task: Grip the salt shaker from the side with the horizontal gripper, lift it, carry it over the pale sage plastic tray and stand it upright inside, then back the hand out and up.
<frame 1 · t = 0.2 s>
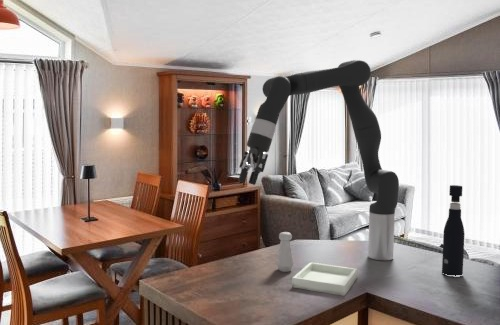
hand: (246, 182, 146), 31 cm above the counter, tool tilted 20°, fingers open, 8 cm apart
salt shaker: (284, 270, 155), on the counter
tray: (325, 282, 143), on the counter
black bottle: (452, 275, 152), on the counter
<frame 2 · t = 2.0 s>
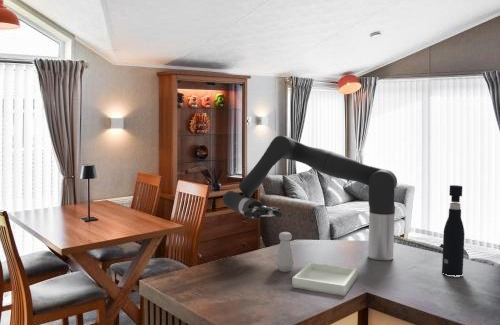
hand: (270, 215, 164), 17 cm above the counter, tool horizontal, fingers open, 8 cm apart
nothing on the counter moved.
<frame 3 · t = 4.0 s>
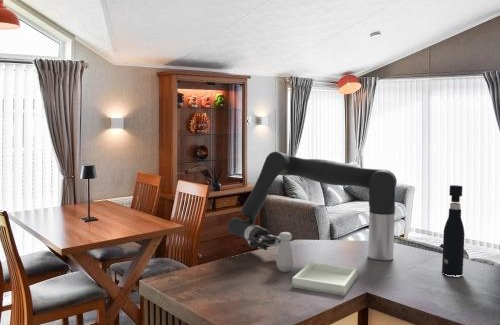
hand: (277, 246, 160), 7 cm above the counter, tool horizontal, fingers open, 8 cm apart
nothing on the counter moved.
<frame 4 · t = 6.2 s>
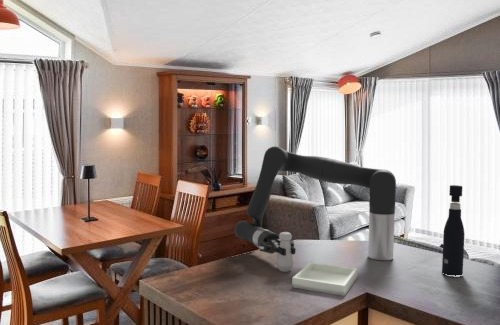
hand: (289, 251, 152), 7 cm above the counter, tool horizontal, fingers closed on salt shaker, 3 cm apart
salt shaker: (284, 270, 155), on the counter, touching gripper
everything else where it was.
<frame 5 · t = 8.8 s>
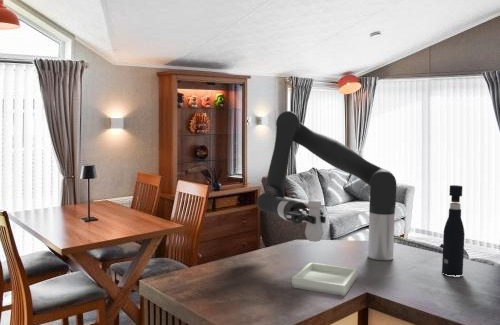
hand: (319, 220, 143), 20 cm above the counter, tool horizontal, fingers closed on salt shaker, 3 cm apart
salt shaker: (313, 240, 146), point 12 cm above the counter, touching gripper
everything else where it was.
when the fingers open (10 cm above the counter, at t = 11.4 s): salt shaker drops 2 cm, resting on tray.
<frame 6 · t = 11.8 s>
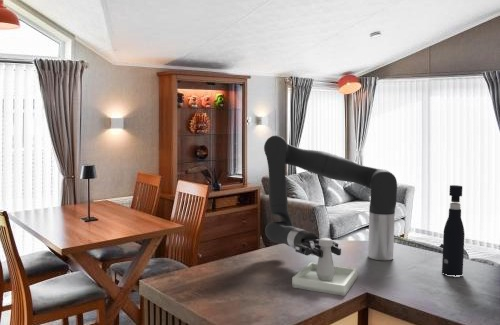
hand: (331, 253, 140), 10 cm above the counter, tool horizontal, fingers open, 6 cm apart
salt shaker: (325, 279, 143), point 1 cm above the counter, touching tray
everything else where it was.
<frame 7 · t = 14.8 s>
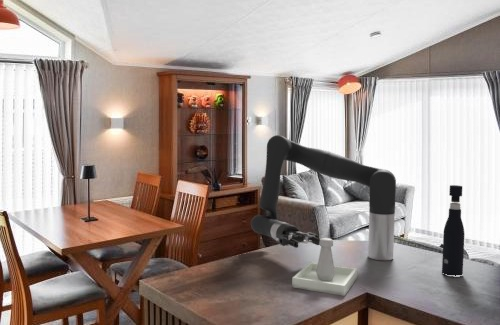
hand: (308, 243, 152), 10 cm above the counter, tool horizontal, fingers open, 8 cm apart
nothing on the counter moved.
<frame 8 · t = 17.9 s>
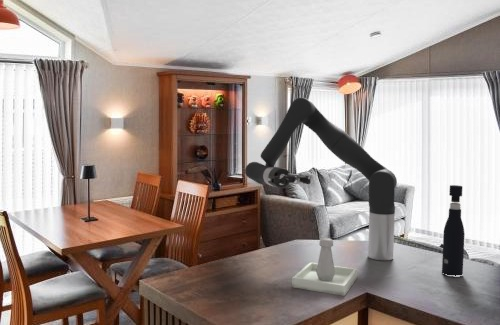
hand: (298, 181, 157), 30 cm above the counter, tool horizontal, fingers open, 8 cm apart
nothing on the counter moved.
at the end: salt shaker inside the target area on the tray (0.1 cm from its centre), point 0.8 cm above the tray's base; salt shaker tilted 0°; the gripper is holding nothing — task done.
